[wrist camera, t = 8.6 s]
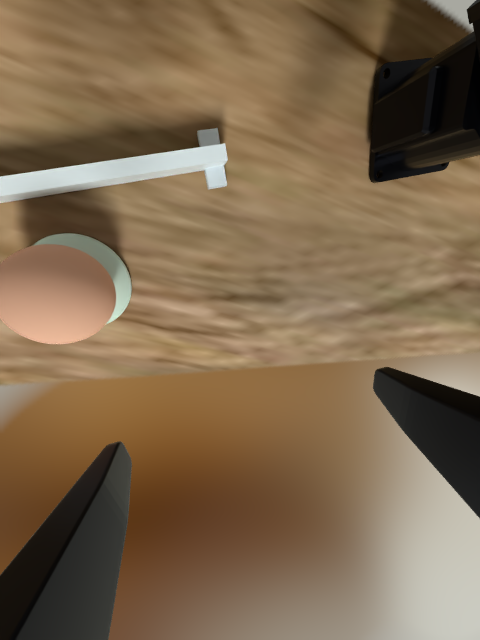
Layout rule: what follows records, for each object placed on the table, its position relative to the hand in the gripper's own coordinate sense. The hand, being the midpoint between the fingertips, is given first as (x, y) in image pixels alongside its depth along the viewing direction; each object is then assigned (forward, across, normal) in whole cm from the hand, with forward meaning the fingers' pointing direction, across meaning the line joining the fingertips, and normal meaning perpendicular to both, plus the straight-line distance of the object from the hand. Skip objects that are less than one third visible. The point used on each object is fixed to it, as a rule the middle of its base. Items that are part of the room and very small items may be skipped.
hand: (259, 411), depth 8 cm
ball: (+12, +9, -3) cm, 15 cm away
